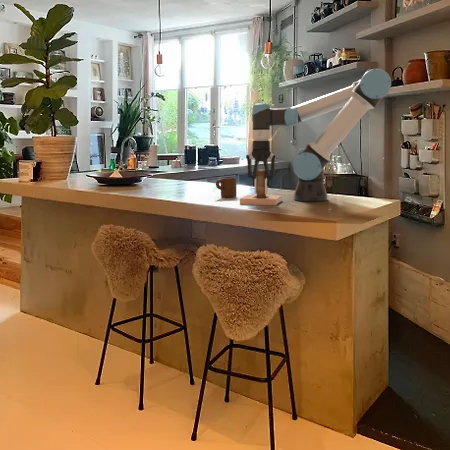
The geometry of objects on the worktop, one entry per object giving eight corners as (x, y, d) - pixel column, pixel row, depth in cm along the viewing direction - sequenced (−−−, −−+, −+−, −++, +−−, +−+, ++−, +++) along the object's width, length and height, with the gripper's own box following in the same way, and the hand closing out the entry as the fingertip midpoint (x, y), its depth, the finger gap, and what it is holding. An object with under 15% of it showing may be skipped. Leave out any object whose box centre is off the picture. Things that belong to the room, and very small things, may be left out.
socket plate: (247, 200, 244) (247, 194, 244) (281, 201, 240) (281, 195, 239) (239, 204, 231) (239, 198, 230) (275, 205, 226) (275, 199, 226)
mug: (222, 199, 248) (221, 179, 247) (211, 198, 254) (210, 178, 252) (239, 196, 257) (239, 177, 255) (228, 195, 262) (228, 176, 260)
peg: (257, 200, 238) (257, 169, 235) (266, 201, 236) (266, 169, 234) (255, 202, 234) (255, 170, 231) (264, 202, 233) (264, 170, 230)
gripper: (240, 140, 229) (240, 194, 233) (278, 140, 224) (278, 194, 229) (244, 140, 236) (244, 192, 240) (282, 139, 231) (281, 192, 236)
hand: (261, 193), depth 234 cm, fingers closed on peg, 4 cm apart
